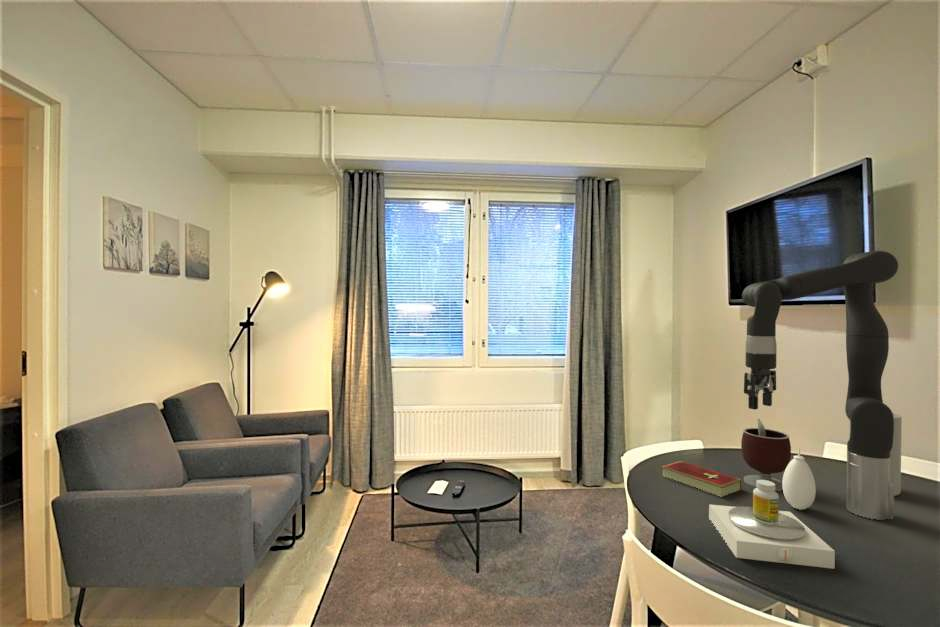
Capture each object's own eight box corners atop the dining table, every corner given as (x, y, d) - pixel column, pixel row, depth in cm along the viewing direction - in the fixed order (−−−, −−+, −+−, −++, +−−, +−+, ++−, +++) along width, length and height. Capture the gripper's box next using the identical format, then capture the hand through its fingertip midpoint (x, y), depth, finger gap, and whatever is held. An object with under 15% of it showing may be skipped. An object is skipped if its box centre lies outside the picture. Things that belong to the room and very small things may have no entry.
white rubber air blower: (787, 512, 128) (787, 449, 128) (778, 501, 135) (779, 442, 135) (819, 516, 125) (820, 453, 125) (809, 505, 132) (810, 445, 132)
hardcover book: (681, 471, 161) (681, 459, 161) (741, 491, 143) (742, 478, 143) (661, 477, 155) (661, 465, 155) (721, 499, 137) (722, 485, 137)
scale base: (789, 526, 119) (790, 511, 119) (836, 570, 99) (836, 552, 99) (708, 518, 123) (709, 504, 123) (737, 559, 103) (737, 541, 103)
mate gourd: (797, 494, 140) (798, 431, 140) (747, 488, 145) (747, 427, 145) (780, 477, 155) (781, 420, 155) (735, 472, 159) (736, 417, 159)
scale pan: (785, 512, 117) (785, 509, 117) (819, 543, 102) (819, 540, 102) (719, 506, 121) (719, 503, 121) (742, 535, 105) (742, 532, 105)
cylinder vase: (898, 500, 136) (899, 419, 136) (845, 488, 146) (846, 412, 145) (902, 490, 144) (903, 413, 144) (852, 479, 154) (853, 407, 154)
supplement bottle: (758, 513, 115) (759, 477, 115) (782, 522, 110) (782, 483, 110) (748, 518, 112) (749, 481, 112) (772, 527, 108) (772, 488, 107)
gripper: (758, 349, 135) (757, 402, 135) (734, 351, 128) (734, 407, 128) (786, 351, 129) (785, 407, 129) (763, 353, 121) (762, 412, 121)
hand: (760, 407), depth 128 cm, fingers open, 8 cm apart
